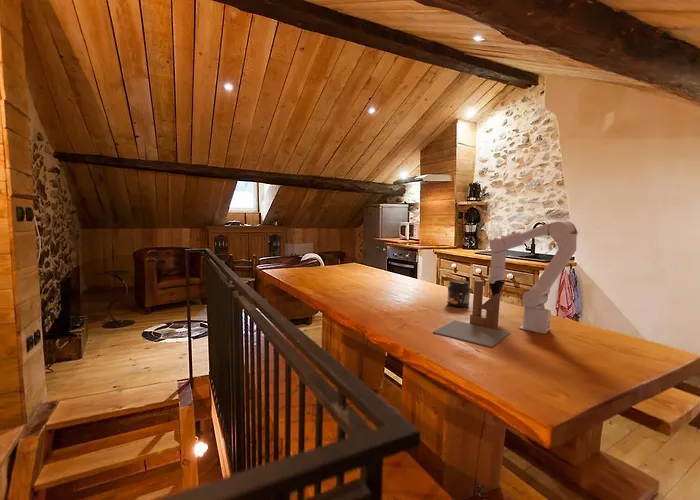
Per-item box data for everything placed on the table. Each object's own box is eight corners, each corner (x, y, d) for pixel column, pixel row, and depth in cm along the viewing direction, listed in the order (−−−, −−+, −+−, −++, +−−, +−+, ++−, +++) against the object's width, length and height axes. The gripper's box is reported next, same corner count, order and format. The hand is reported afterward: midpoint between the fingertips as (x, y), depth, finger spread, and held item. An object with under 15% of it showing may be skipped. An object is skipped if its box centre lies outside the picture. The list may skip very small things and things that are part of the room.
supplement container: (442, 303, 184) (443, 280, 182) (459, 302, 188) (460, 279, 187) (456, 309, 174) (458, 284, 173) (473, 307, 179) (475, 283, 177)
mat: (509, 333, 140) (509, 332, 140) (492, 347, 125) (492, 346, 125) (454, 321, 154) (454, 320, 154) (432, 332, 139) (432, 331, 139)
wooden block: (492, 330, 144) (496, 284, 142) (469, 322, 153) (472, 280, 151) (498, 328, 147) (501, 283, 145) (474, 321, 155) (477, 279, 153)
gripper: (493, 263, 165) (491, 293, 166) (482, 267, 154) (480, 298, 155) (510, 265, 161) (508, 296, 162) (499, 269, 149) (497, 301, 151)
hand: (495, 297), depth 158 cm, fingers closed
